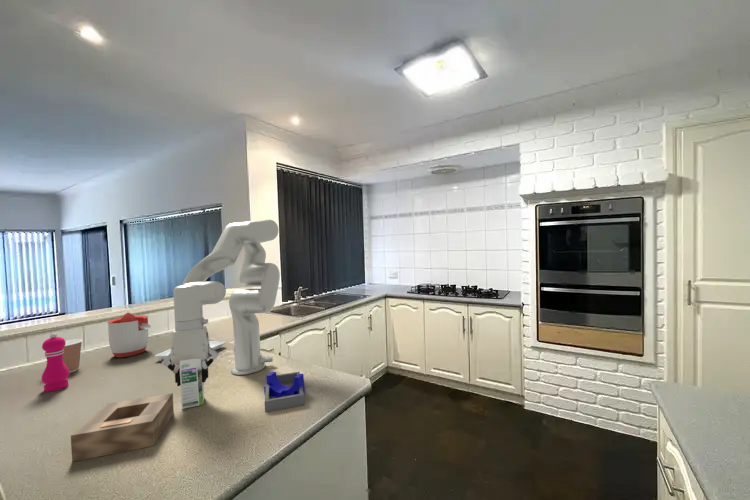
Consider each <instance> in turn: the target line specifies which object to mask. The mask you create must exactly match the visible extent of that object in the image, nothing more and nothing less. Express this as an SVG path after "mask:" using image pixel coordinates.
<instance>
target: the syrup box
mask: <svg viewBox="0 0 750 500" xmlns="http://www.w3.org/2000/svg"><path fill="white" fill-rule="evenodd" d="M179 366H180V382H181V385H180V396H181V401H180V402H181V410H184V409H188V408H193V407H198V406H199V407H200V406H203V404H204V399H205V387H204V384H205V382H202V369H203V367H202V365H201V359H200V358H197V359H189V360H180V362H179Z"/></svg>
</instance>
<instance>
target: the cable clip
mask: <svg viewBox="0 0 750 500" xmlns="http://www.w3.org/2000/svg"><path fill="white" fill-rule="evenodd" d="M277 375H278V374H277V372H276V371H271V372H269V373H268V374H266V377H265V378H266V379H267V384H269V392H270V397H272V398H279V397H284V396H291V395H296V394H299V388H300V387H301V386H302V388H303V393H305V392H306V390H305V389H306V388H305V378H304V377H305V376H304V373H300V374H298V375H297V376H295V377H294V382H292V383H293V384H292V385H289V386H288V385H286V384H282V383H281V382H280V381H279V380H278V378H277ZM265 390H266V385H265V386H264V387H263V391H264V392H263V393H264V394H265Z"/></svg>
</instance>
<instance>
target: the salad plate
mask: <svg viewBox="0 0 750 500" xmlns="http://www.w3.org/2000/svg"><path fill="white" fill-rule="evenodd" d="M209 343H210V347H211V348H212V349H214V350H215V351H217V350H218V349H220V348H221V347H223V346H224V345H225V344H226V341H218V340H217V341H215V340H213V341H212V340H211V341H210V340H209ZM170 353H171V348H169V349H167V350H165V351H162V352H160V353H157V354H155V355H154V357H155V358H156V359H158V360H159V359H160V360H164V359H165V358H166V357H167V356H168V355H169V354H170ZM170 361H171V359H170Z"/></svg>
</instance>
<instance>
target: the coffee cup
mask: <svg viewBox="0 0 750 500" xmlns="http://www.w3.org/2000/svg"><path fill="white" fill-rule="evenodd" d="M65 342H66V344H65V346H64V347H63V349H64V353H63V361H64V363H65V365H66V366H67V368H68V369H69V373H70V374H71V373H74V372H76V371H78V370H79V367H80V361H81V354H82V353H81V350H82V342H83V339H81V338H80V339H79V338H77V339H69V340H68V339H67V340H65Z"/></svg>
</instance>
